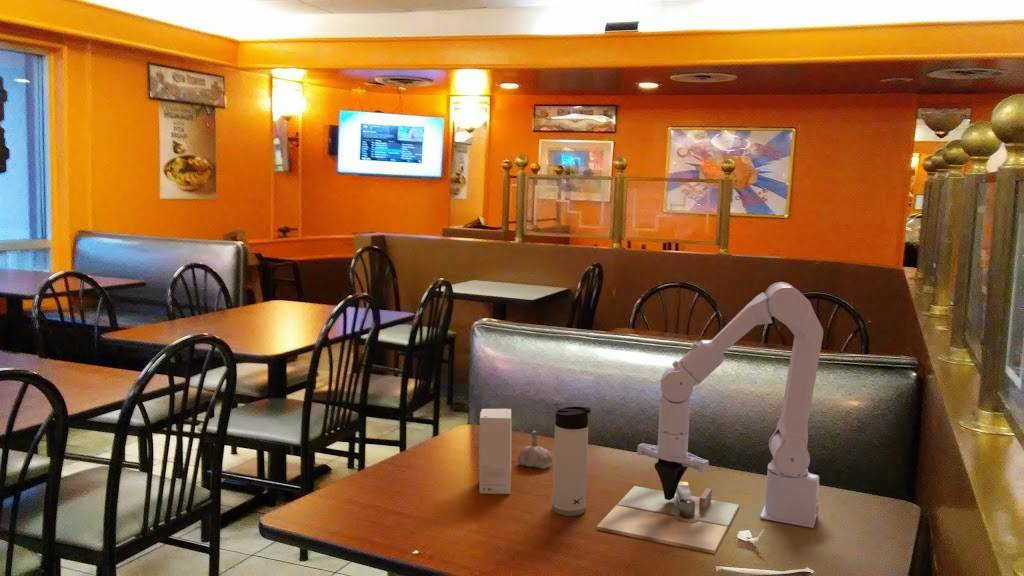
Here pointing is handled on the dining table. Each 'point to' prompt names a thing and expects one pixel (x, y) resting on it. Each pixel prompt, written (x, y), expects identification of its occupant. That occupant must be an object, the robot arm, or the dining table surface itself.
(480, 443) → the skincare box
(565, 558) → the dining table surface
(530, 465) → the garlic bulb
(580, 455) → the travel mug
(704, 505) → the door board
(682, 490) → the bar
